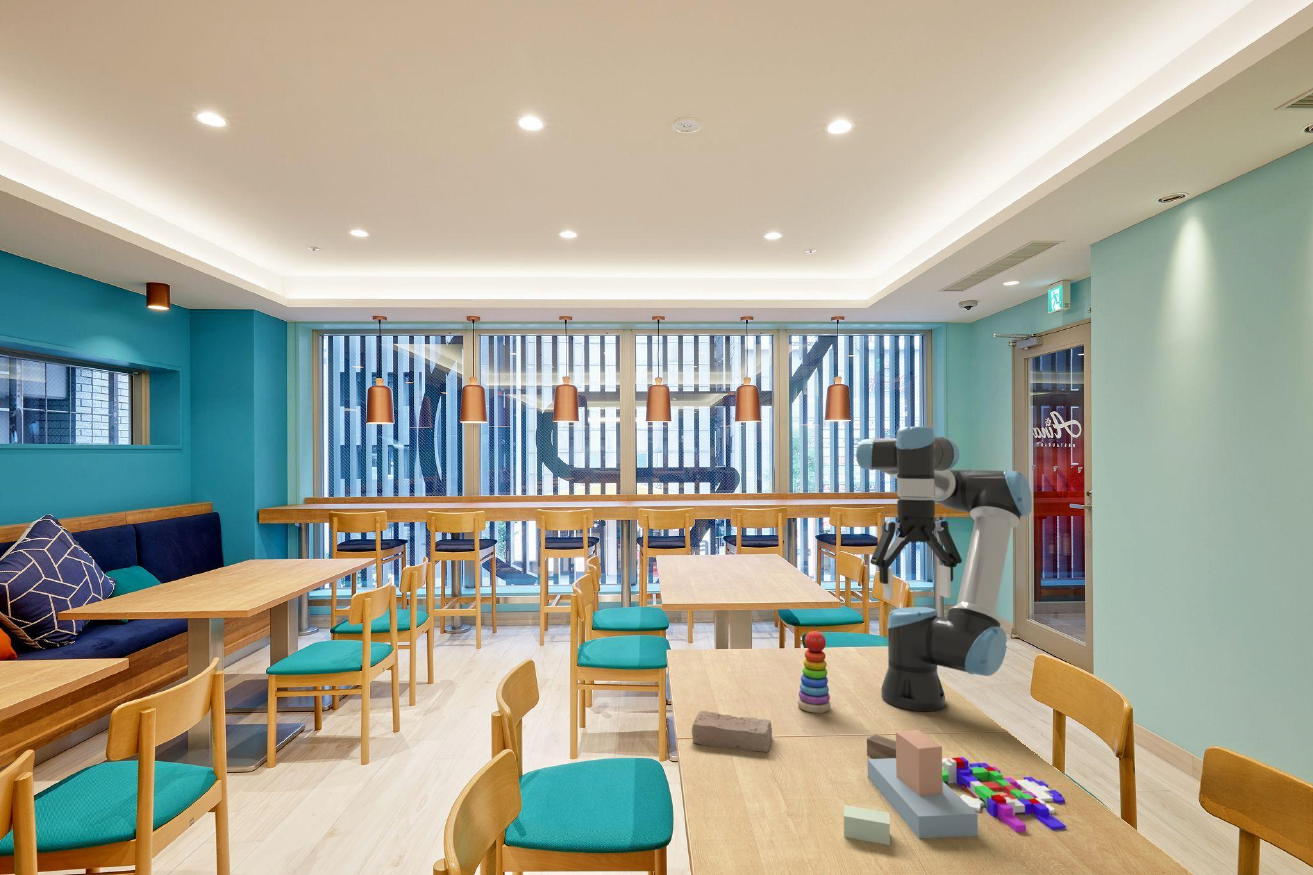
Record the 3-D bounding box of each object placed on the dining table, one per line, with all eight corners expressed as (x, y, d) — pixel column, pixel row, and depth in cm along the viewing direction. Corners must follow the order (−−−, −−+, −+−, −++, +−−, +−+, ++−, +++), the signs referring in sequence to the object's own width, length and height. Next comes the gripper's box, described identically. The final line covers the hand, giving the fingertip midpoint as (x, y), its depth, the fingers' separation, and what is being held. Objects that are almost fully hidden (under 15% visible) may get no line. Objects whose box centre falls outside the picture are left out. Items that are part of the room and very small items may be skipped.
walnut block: (875, 751, 136) (875, 734, 136) (907, 762, 130) (907, 745, 130) (866, 755, 133) (866, 738, 133) (898, 768, 128) (898, 750, 128)
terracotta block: (918, 773, 118) (917, 729, 118) (942, 793, 111) (941, 746, 112) (896, 776, 117) (895, 731, 118) (919, 796, 110) (918, 748, 111)
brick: (772, 738, 142) (772, 716, 142) (769, 754, 134) (768, 731, 134) (698, 730, 146) (698, 709, 146) (691, 745, 138) (691, 723, 138)
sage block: (844, 826, 108) (844, 804, 108) (889, 834, 105) (889, 812, 105) (844, 837, 104) (843, 815, 104) (889, 846, 102) (889, 823, 102)
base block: (917, 778, 125) (917, 757, 125) (977, 838, 105) (977, 813, 105) (867, 780, 124) (867, 759, 124) (918, 841, 104) (918, 816, 104)
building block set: (1103, 829, 108) (1102, 802, 108) (991, 838, 105) (990, 810, 105) (1003, 760, 133) (1002, 738, 133) (910, 766, 130) (909, 743, 130)
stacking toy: (794, 711, 156) (794, 633, 157) (800, 699, 164) (800, 625, 165) (828, 716, 153) (828, 636, 154) (832, 704, 161) (832, 628, 162)
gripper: (955, 496, 144) (957, 592, 144) (853, 497, 140) (854, 596, 139) (978, 499, 137) (980, 599, 136) (871, 499, 132) (872, 603, 131)
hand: (916, 598), depth 138 cm, fingers open, 13 cm apart
